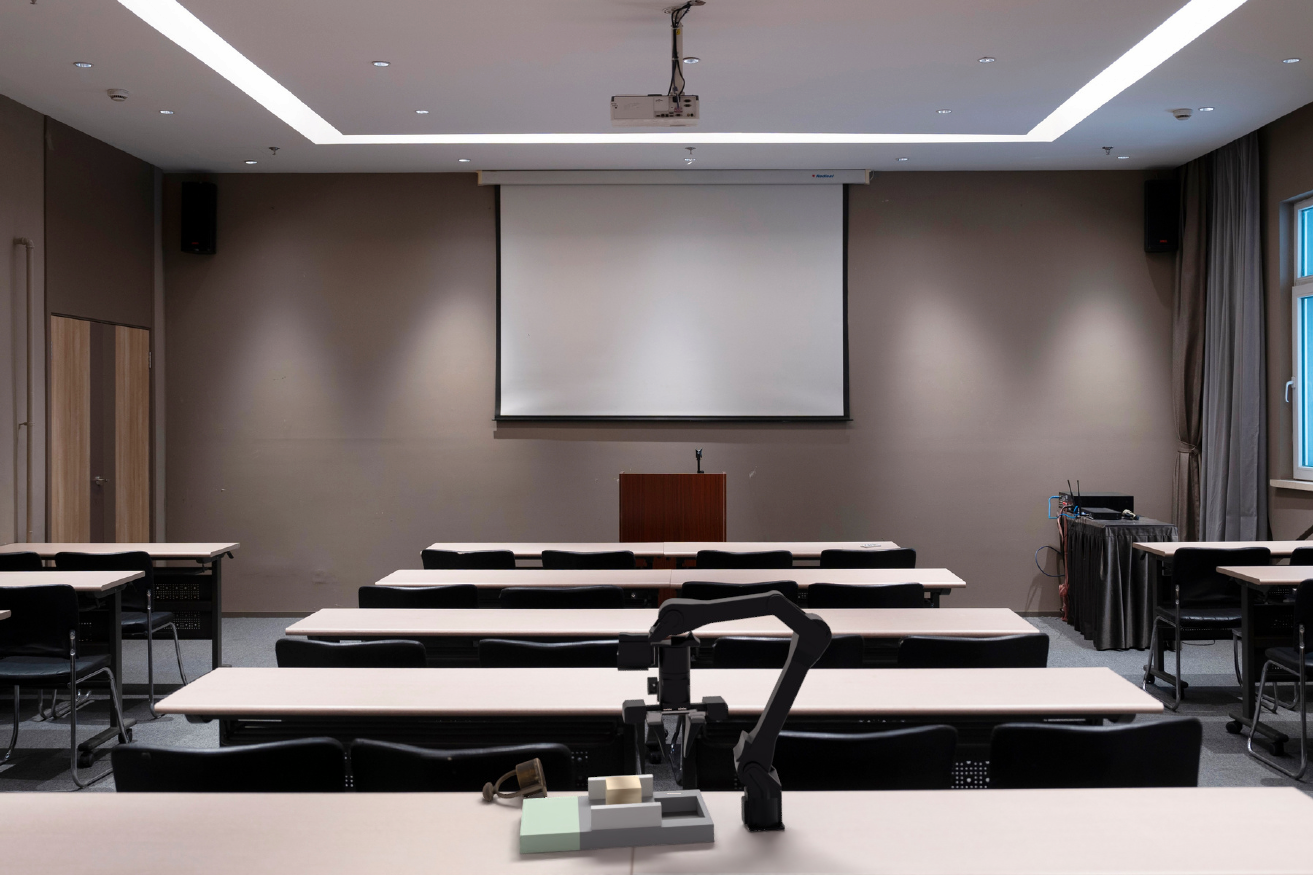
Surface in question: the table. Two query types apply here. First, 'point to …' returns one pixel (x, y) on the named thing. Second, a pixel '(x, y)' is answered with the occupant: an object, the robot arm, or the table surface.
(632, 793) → the maple block
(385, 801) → the table surface
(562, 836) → the stepped grey tray
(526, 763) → the brown cylinder with loop
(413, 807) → the table surface
